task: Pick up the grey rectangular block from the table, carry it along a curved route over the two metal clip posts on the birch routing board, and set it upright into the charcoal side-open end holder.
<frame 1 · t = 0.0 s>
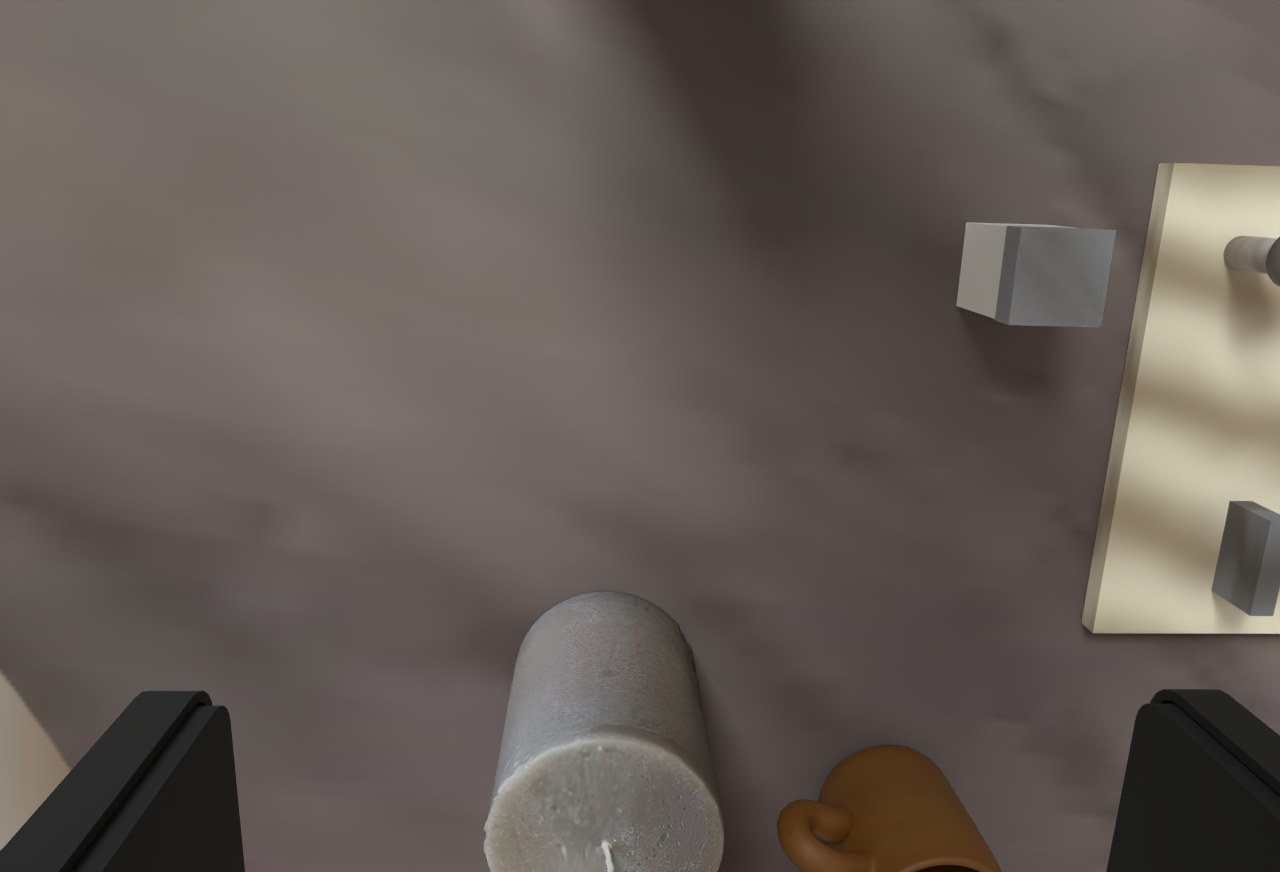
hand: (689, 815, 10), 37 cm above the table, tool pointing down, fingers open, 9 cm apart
routing board: (1249, 410, 48), on the table
pillar candle: (601, 669, 50), on the table
mug: (846, 781, 53), on the table
grey rectangular block: (1001, 265, 45), on the table
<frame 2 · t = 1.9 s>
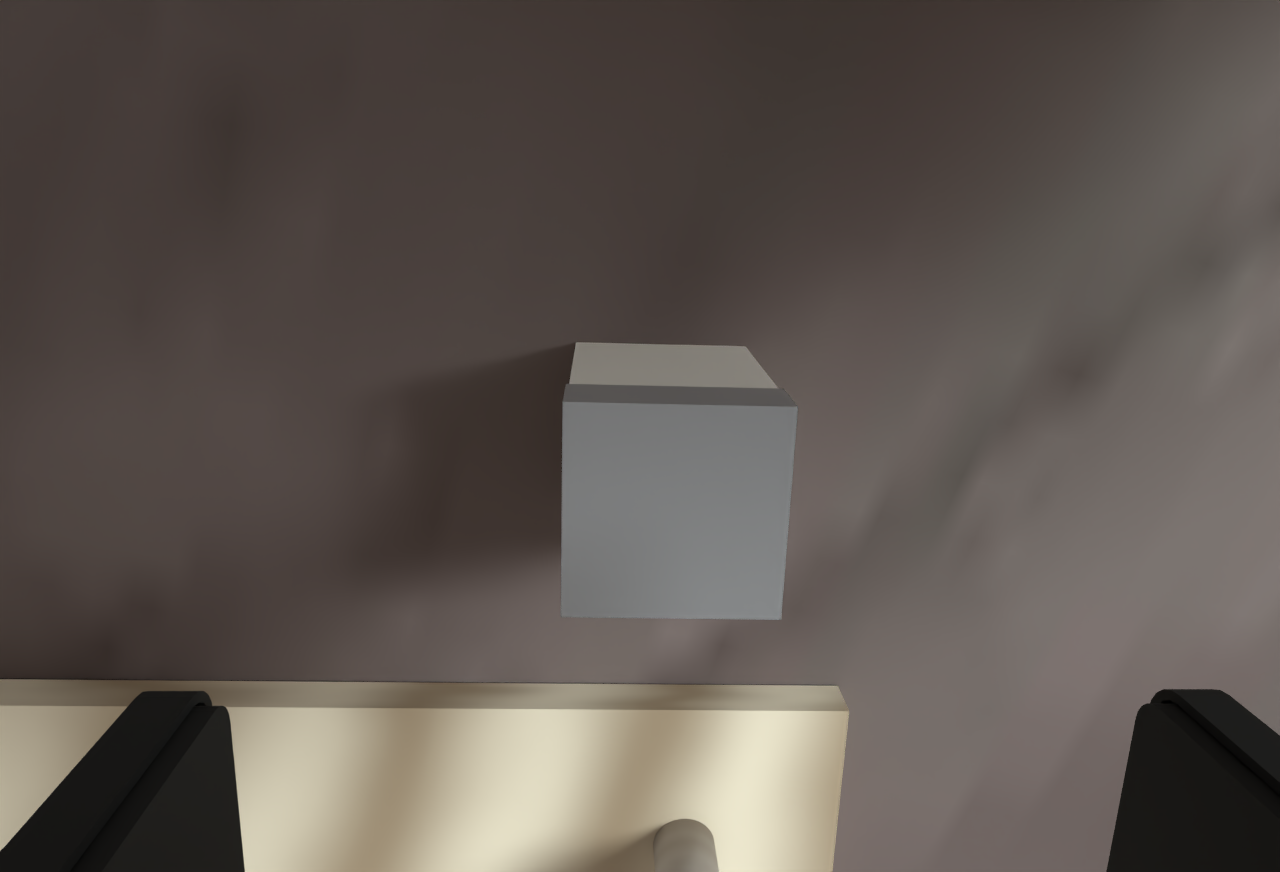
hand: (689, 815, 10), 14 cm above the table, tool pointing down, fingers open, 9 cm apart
grey rectangular block: (658, 426, 23), on the table
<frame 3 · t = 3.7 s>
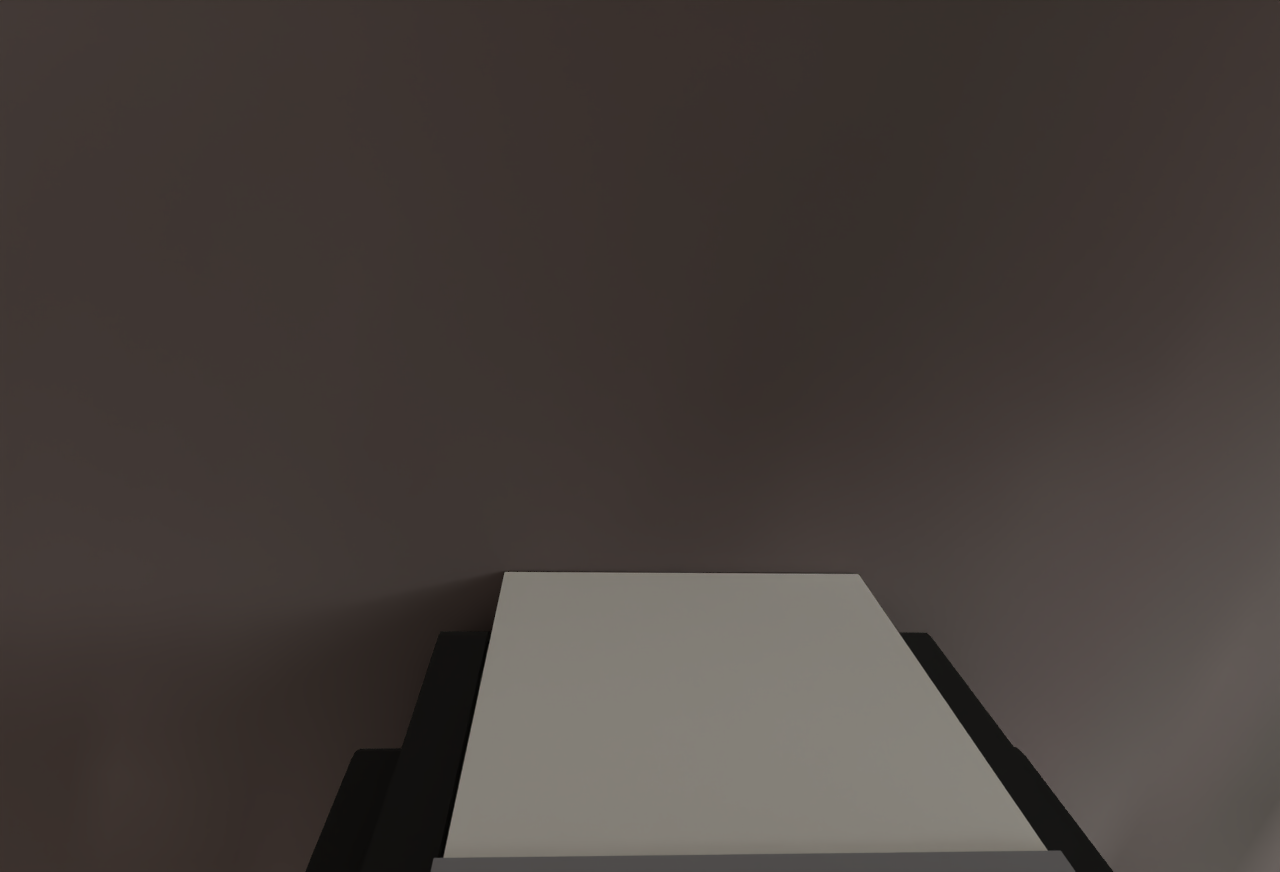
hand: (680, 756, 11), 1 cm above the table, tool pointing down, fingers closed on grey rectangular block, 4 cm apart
grey rectangular block: (676, 729, 11), on the table, touching gripper
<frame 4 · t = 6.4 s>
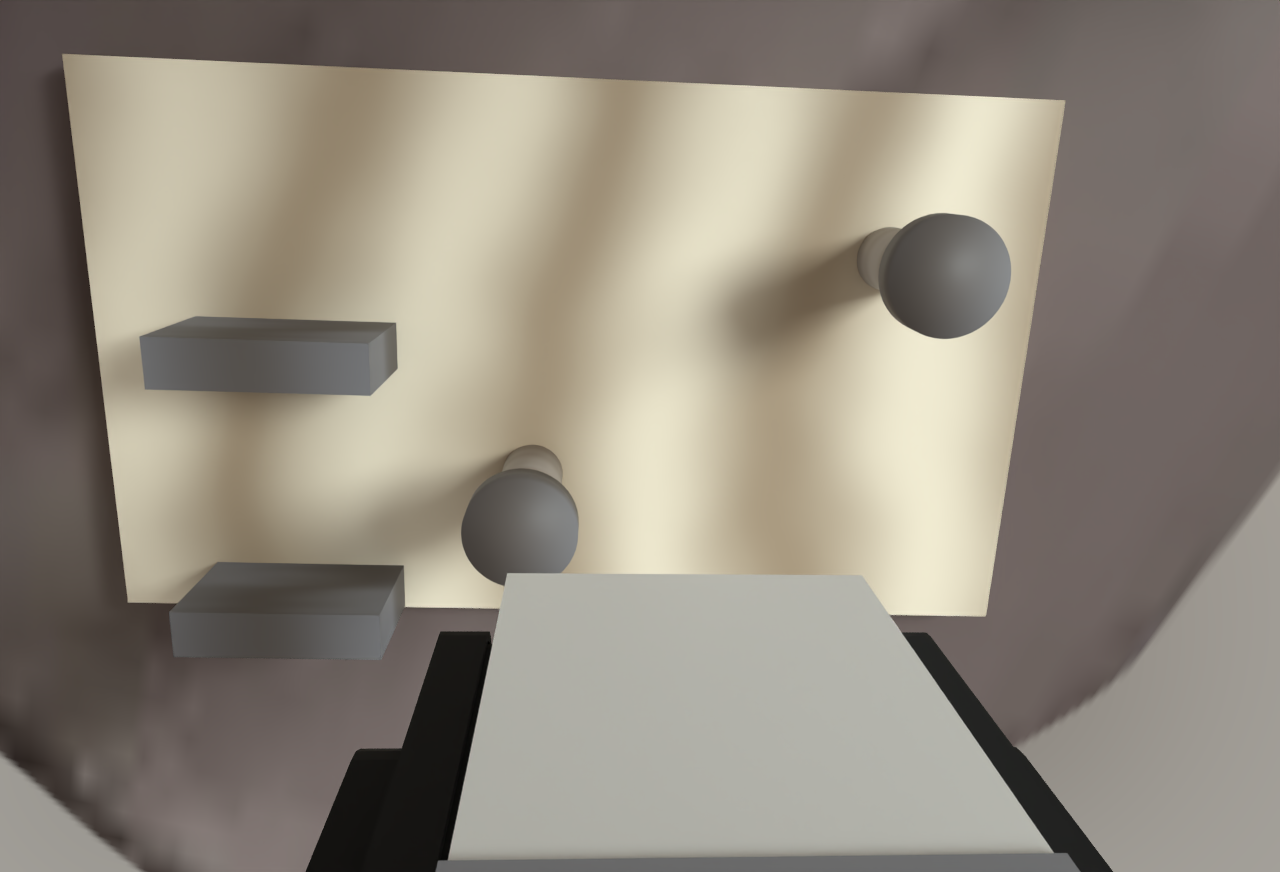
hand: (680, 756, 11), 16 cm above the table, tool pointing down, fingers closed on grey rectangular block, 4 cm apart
routing board: (573, 355, 25), on the table
grey rectangular block: (679, 731, 11), point 16 cm above the table, touching gripper
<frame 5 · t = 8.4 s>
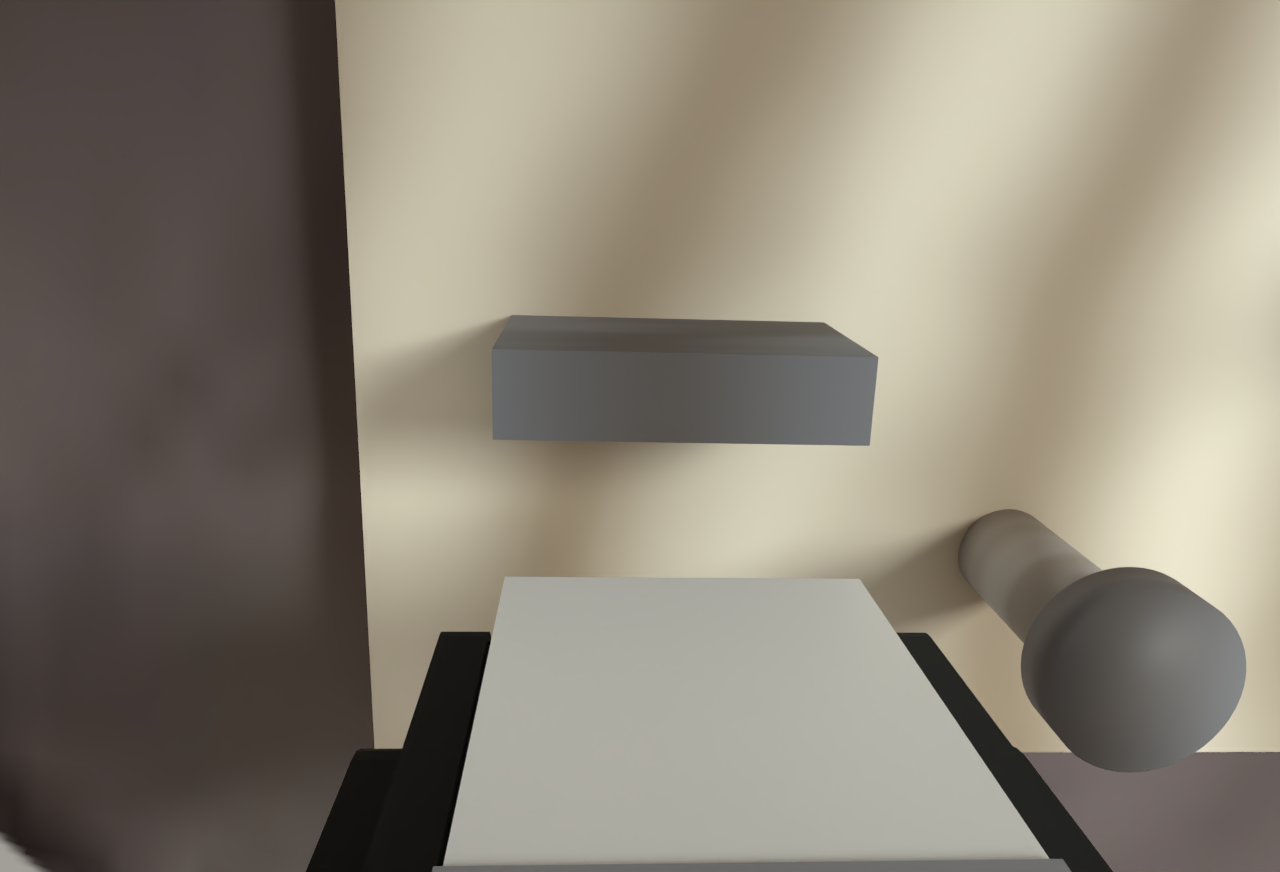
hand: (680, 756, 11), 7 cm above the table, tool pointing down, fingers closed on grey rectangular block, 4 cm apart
routing board: (1052, 370, 17), on the table
grey rectangular block: (676, 734, 11), point 6 cm above the table, touching gripper
when the fingers open (3 cm above the table, at t = 9.4 s): grey rectangular block drops 1 cm, resting on routing board.
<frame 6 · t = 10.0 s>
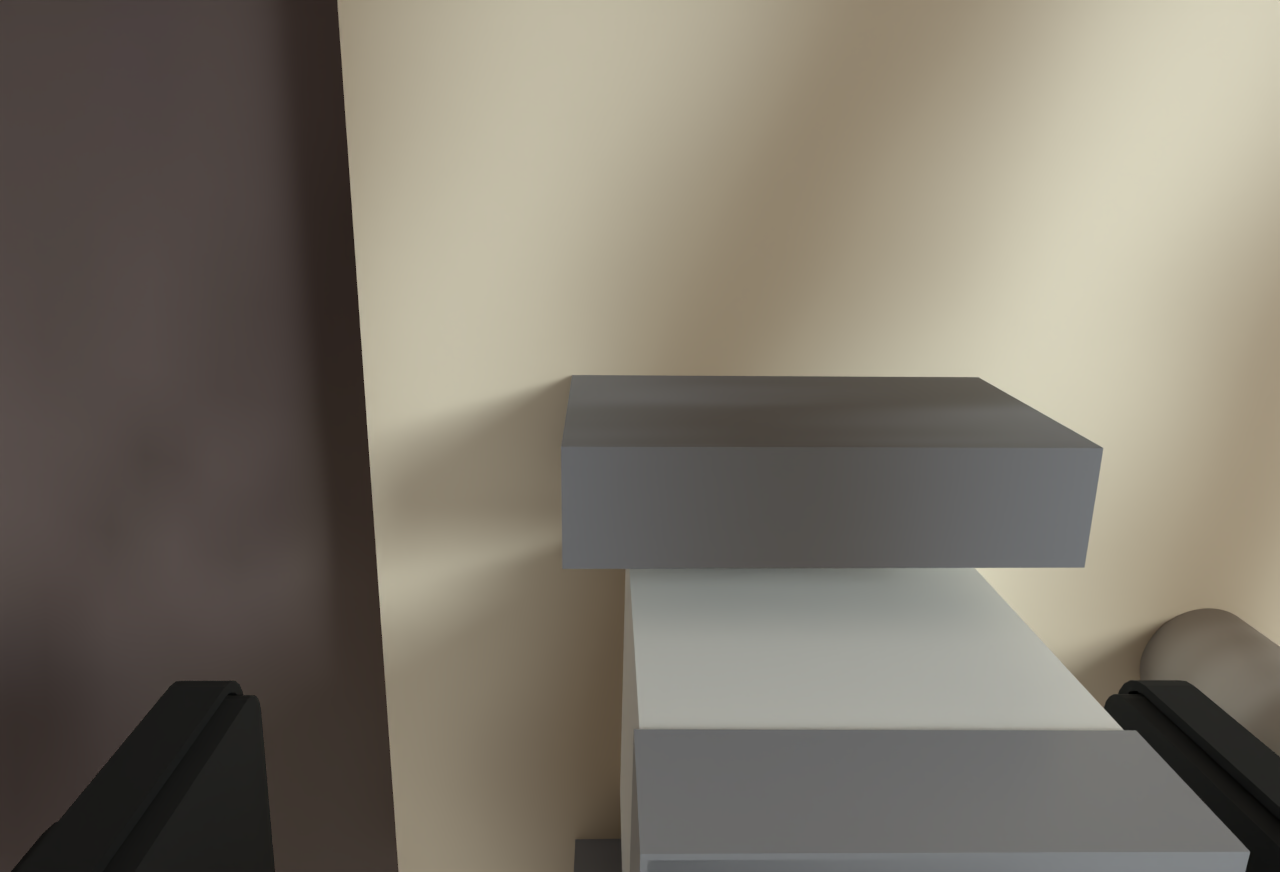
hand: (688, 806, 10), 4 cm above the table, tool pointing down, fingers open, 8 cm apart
routing board: (1253, 426, 13), on the table
grey rectangular block: (772, 663, 12), point 1 cm above the table, touching routing board
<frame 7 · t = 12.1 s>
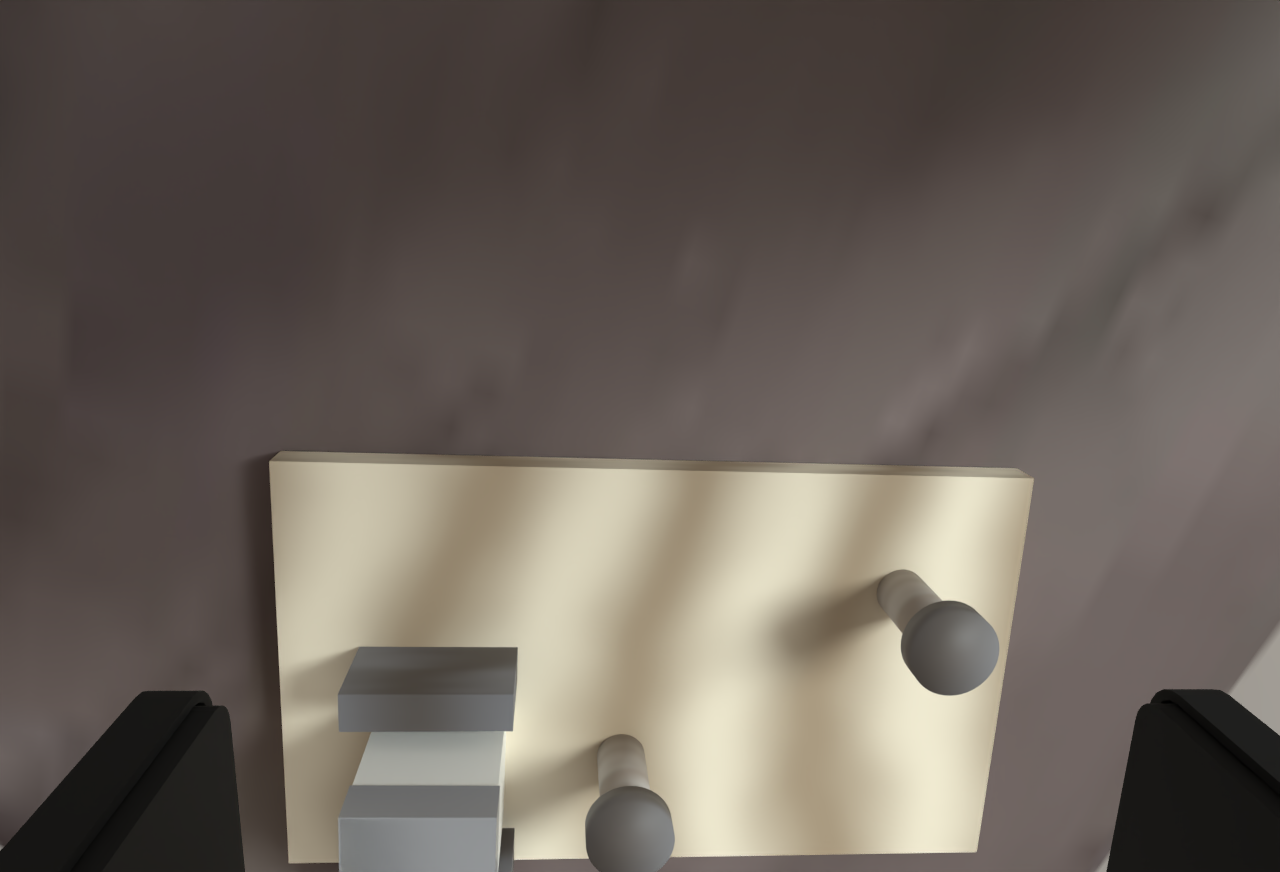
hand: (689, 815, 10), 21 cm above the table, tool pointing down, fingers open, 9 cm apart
routing board: (651, 657, 32), on the table
grey rectangular block: (444, 756, 31), point 1 cm above the table, touching routing board
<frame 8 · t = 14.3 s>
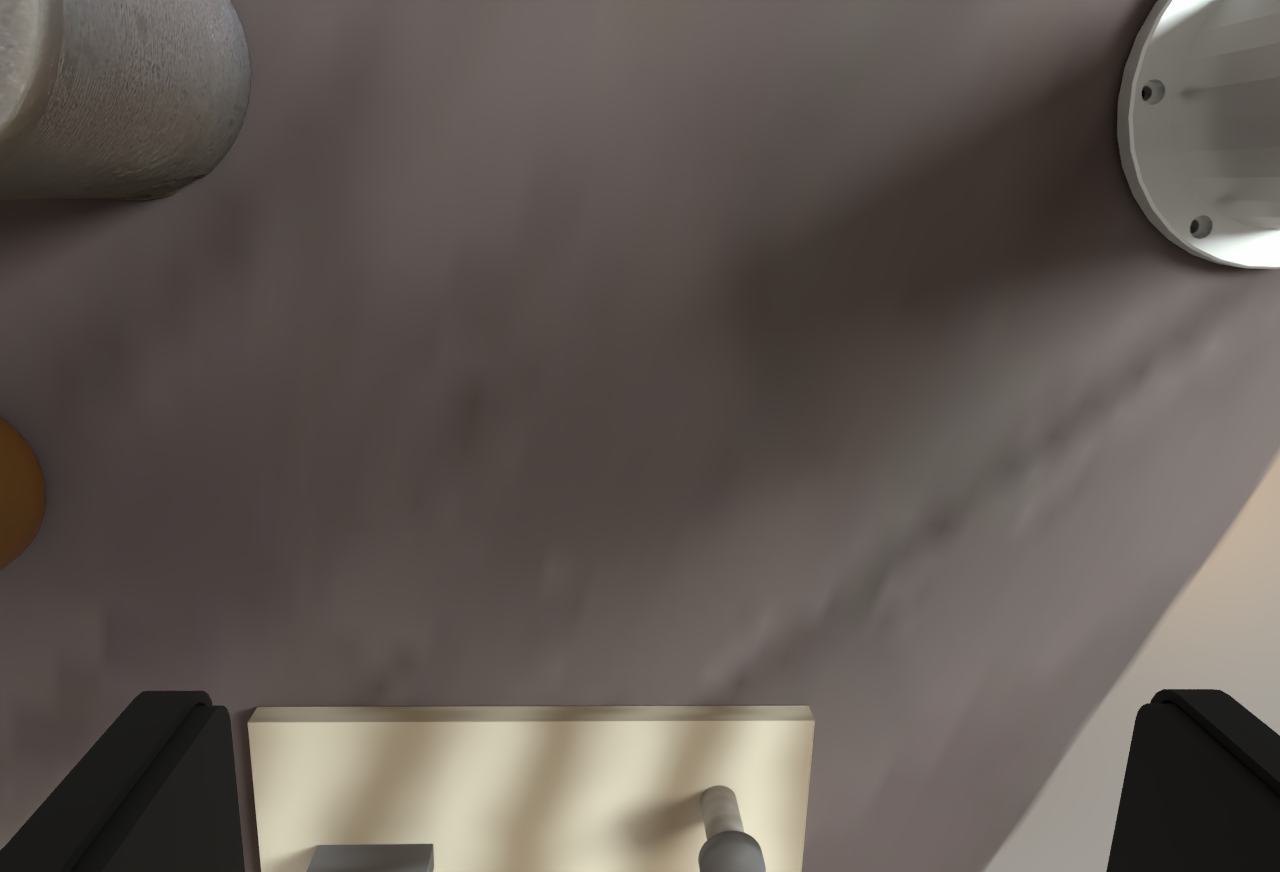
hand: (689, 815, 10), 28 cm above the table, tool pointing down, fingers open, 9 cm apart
routing board: (537, 842, 43), on the table
pillar candle: (117, 57, 33), on the table
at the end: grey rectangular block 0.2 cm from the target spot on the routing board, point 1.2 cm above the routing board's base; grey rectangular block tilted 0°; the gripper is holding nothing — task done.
